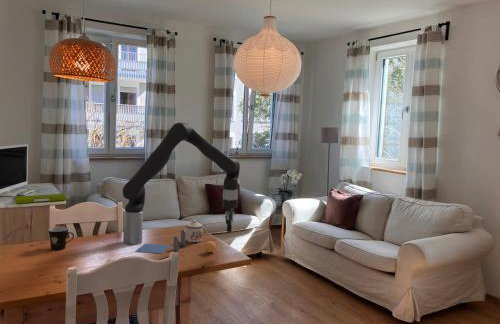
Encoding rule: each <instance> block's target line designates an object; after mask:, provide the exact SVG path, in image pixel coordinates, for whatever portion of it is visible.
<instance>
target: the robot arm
mask: <svg viewBox="0 0 500 324" xmlns="http://www.w3.org/2000/svg"><path fill="white" fill-rule="evenodd" d="M182 141H183V142H184V141H185V142H187V143H189V144H191V145H193V146H194V147H196V149H197V150H198V151H200V152H201V154H202V155H203V156H205V157H206V158H207V159H209V160H210V161H212V162H213V163H215V164H216V165H217V166H218V167H219V169H221V170H222V171H223V172H225V173H226V174H225V177H224V179H223V191H222V208H223V209H226V211H225V212H224V213H225V216H224V218H225V225H226V232H227V233H232V231H233V230H232V229H233V228H232V227H233V222H234V216H235V210H234V209H237V208H238V204H239V203H238V199H239V191H238V185H239V184H238V183H239V182H238V180H239V175H240V169H241V167H240V166H241V165H240V162H239V160H238V159H237V158H234V157H232V158H230V157H228V156H227V155H226V154H225V152H224V151H223V150H222V149H220V148H218V147H217V146H216V145H214V144H213V143H211V142H210V141H209V140H207V139H205V138H204V137H203V136H202V135H201V134H199V133H198V132H197V131H196V130H195V129H194V128H193V127H192V126H191V125H190V124H188V123H186V122H176V123H174V124H173V125H172V126H171V128H169V130H168V132H167V133H166V135H165V137H164V138H163V140H162V141H161V142H160V143H159V145H158V146H157V147H156V148H155V149H154V151H153V152H151V154H149V156H148V158H147V159H146V160H145V162H144V163H143V164H142V165H141V167H140V168H139V169H138V171H137V172H136V173H135V174H134V175H133V176H132V177H131V178H130V179H129V180H128V181H127V182H126V183H125V184H124V186H123V187H122V196H123V197H124V198H125V199H126V200H128V202H127V204H126V205H125V208H124V225H123V227H122V229H123V230H122V231H123V233H122V243H123V244H126V245H139V244H142V243H143V229H144V228H143V226H144V225H143V221H144V219H143V217H144V216H143V215H144V212H143V211H144V206H145V201H146V188H145V185H146V184H147V182H149V181H150V180H151V179H153V178H154V177H155V176H156V175H158V174H159V173H160V172H161V171H162V170H163V169H164V168H165V166H167V164H168V162H169V160H170V158H171V155H172V153H173V151H174V149H175V148H176V147H177V146H178V145H179V144H180V143H181V142H182Z"/></svg>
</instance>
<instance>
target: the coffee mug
mask: <svg viewBox="0 0 500 324" xmlns="http://www.w3.org/2000/svg"><path fill="white" fill-rule="evenodd" d="M68 234H69V235H70V234H71V235H72V238H70V240H68V241H67V237H68ZM48 236H49V237H48V238H49V243H50V250H51V251H54V252H57V251H64V250H65V249H66V244H68V243H70V242H71V241H73V239H74V238H75V235H74V233H73V232H71V231H69V232H68V227H63V226H60V227H59V226H57V227H51V228H49V229H48Z"/></svg>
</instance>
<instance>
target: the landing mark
mask: <svg viewBox="0 0 500 324" xmlns="http://www.w3.org/2000/svg"><path fill="white" fill-rule="evenodd" d="M170 247H171V245H170V244H156V243H146V242H145V243H144V244H142V245H141V246H140V247H138V248H137V249H136V250H135V251H134V252H136V253H149V254H160V255H161V254H162V255H163V253H165V251H166V250H168V249H169V248H170Z"/></svg>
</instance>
